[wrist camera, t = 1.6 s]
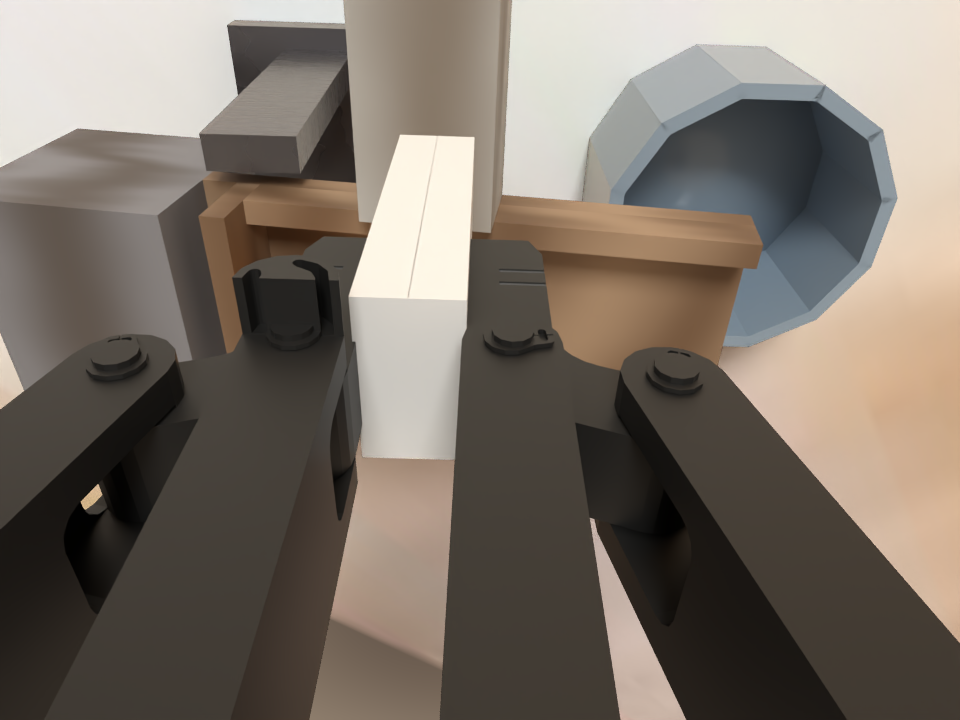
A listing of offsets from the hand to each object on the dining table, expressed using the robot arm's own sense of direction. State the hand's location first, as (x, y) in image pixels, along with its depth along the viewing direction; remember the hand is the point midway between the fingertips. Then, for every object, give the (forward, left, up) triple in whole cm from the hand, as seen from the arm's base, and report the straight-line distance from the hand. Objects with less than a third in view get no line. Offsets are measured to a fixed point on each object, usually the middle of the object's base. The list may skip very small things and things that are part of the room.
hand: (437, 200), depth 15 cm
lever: (-2, -4, -12) cm, 13 cm away
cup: (+13, -7, -22) cm, 26 cm away
